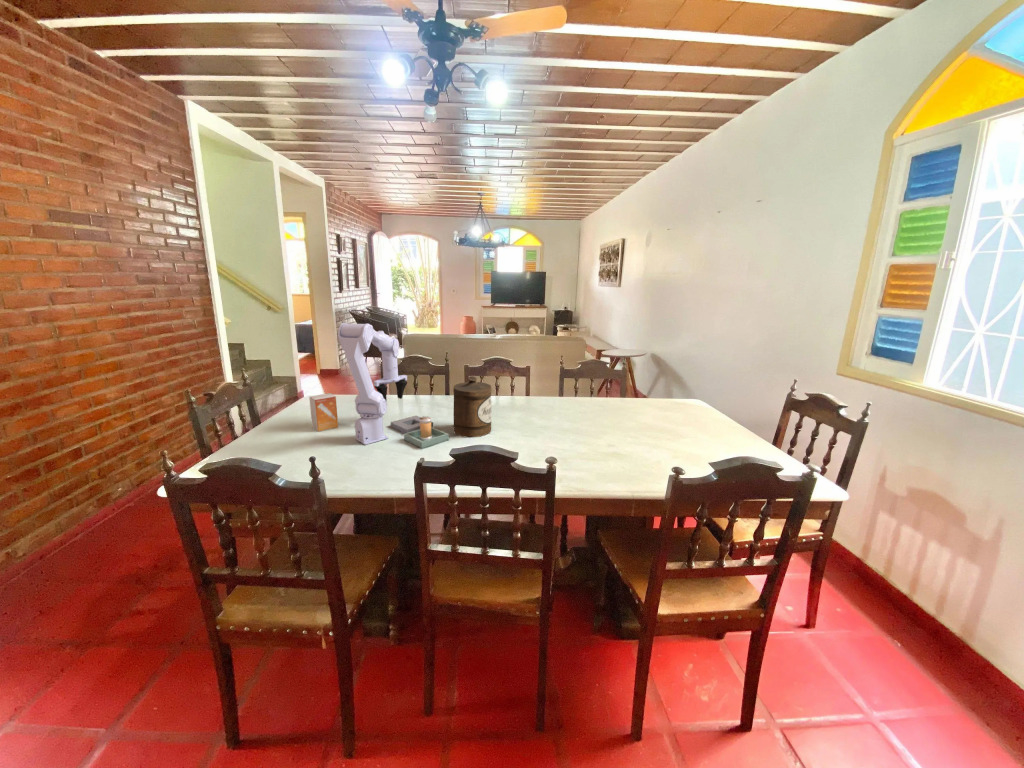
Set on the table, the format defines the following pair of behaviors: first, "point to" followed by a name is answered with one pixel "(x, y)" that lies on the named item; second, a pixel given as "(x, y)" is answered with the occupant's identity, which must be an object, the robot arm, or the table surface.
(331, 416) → the small box
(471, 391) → the wooden container
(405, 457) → the table surface
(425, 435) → the fuse
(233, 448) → the table surface
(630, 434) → the table surface
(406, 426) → the grey square frame
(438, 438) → the tray
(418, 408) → the table surface
